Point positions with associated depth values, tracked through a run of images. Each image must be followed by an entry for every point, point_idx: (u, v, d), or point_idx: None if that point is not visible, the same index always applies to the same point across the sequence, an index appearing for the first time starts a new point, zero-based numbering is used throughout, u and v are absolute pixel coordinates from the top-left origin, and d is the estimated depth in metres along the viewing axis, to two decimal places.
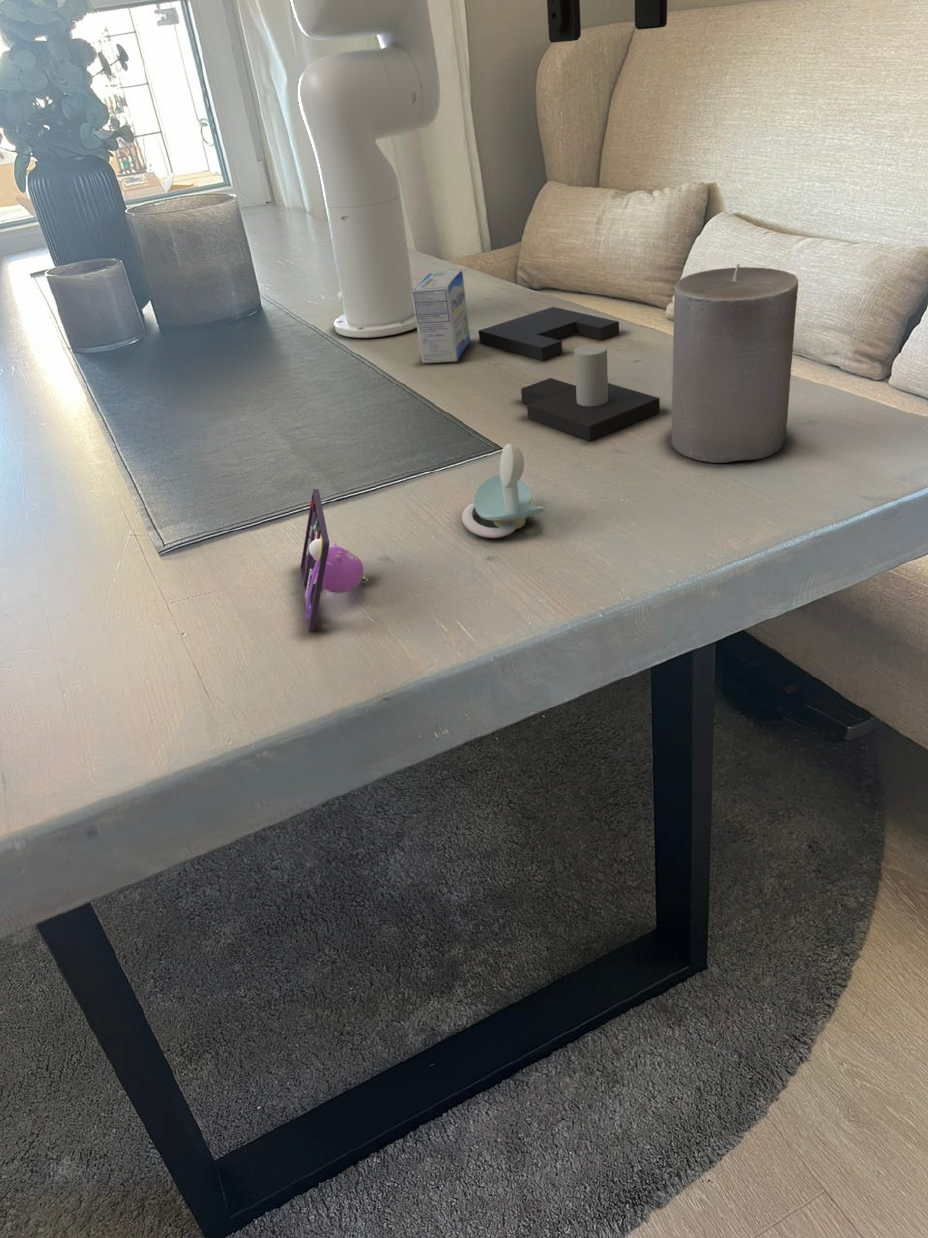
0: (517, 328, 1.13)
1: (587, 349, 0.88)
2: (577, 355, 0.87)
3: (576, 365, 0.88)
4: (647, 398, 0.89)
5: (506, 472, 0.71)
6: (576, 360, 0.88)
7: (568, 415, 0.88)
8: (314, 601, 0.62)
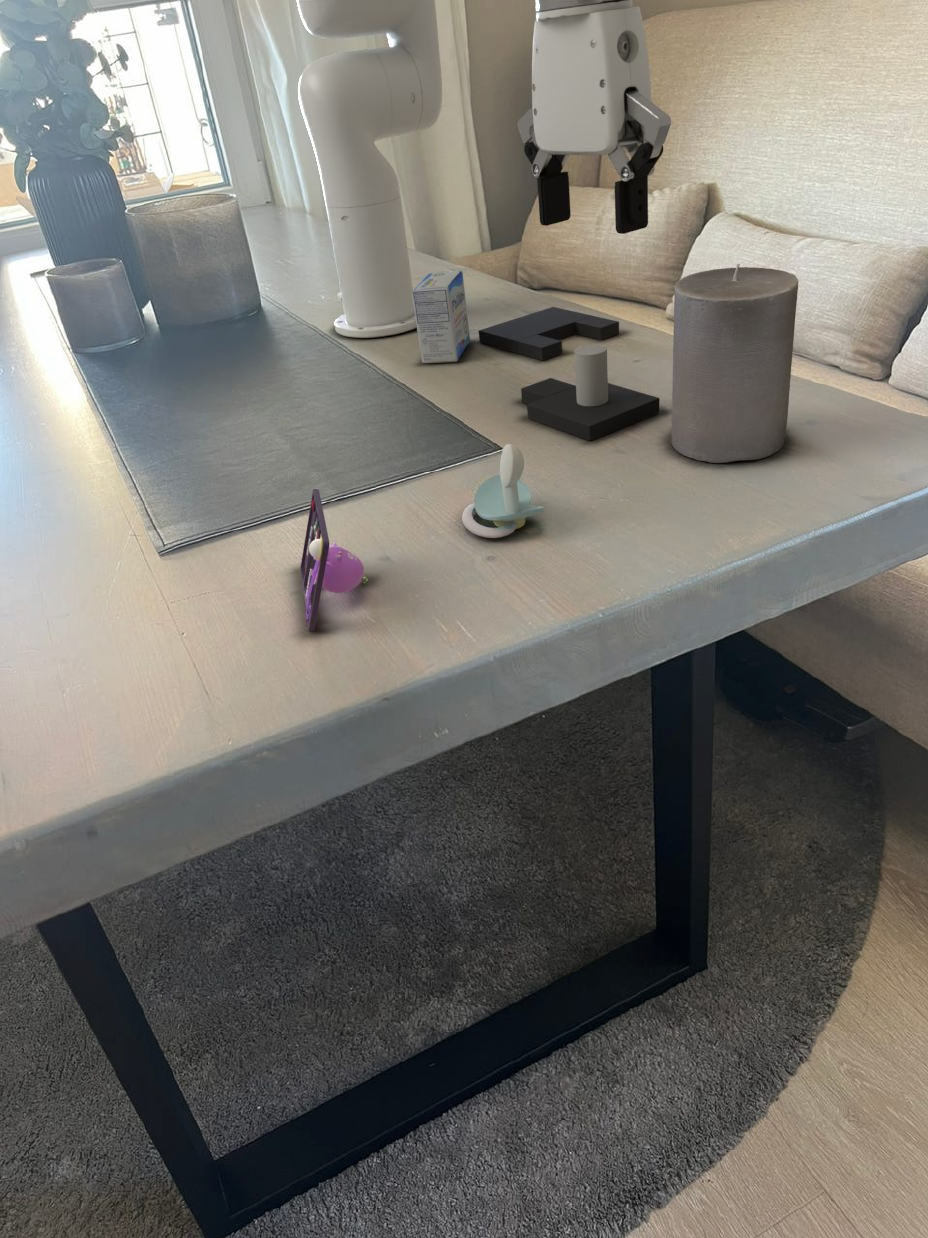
0: (517, 328, 1.13)
1: (587, 349, 0.88)
2: (577, 355, 0.87)
3: (576, 365, 0.88)
4: (647, 398, 0.89)
5: (506, 472, 0.71)
6: (576, 360, 0.88)
7: (568, 415, 0.88)
8: (314, 601, 0.62)
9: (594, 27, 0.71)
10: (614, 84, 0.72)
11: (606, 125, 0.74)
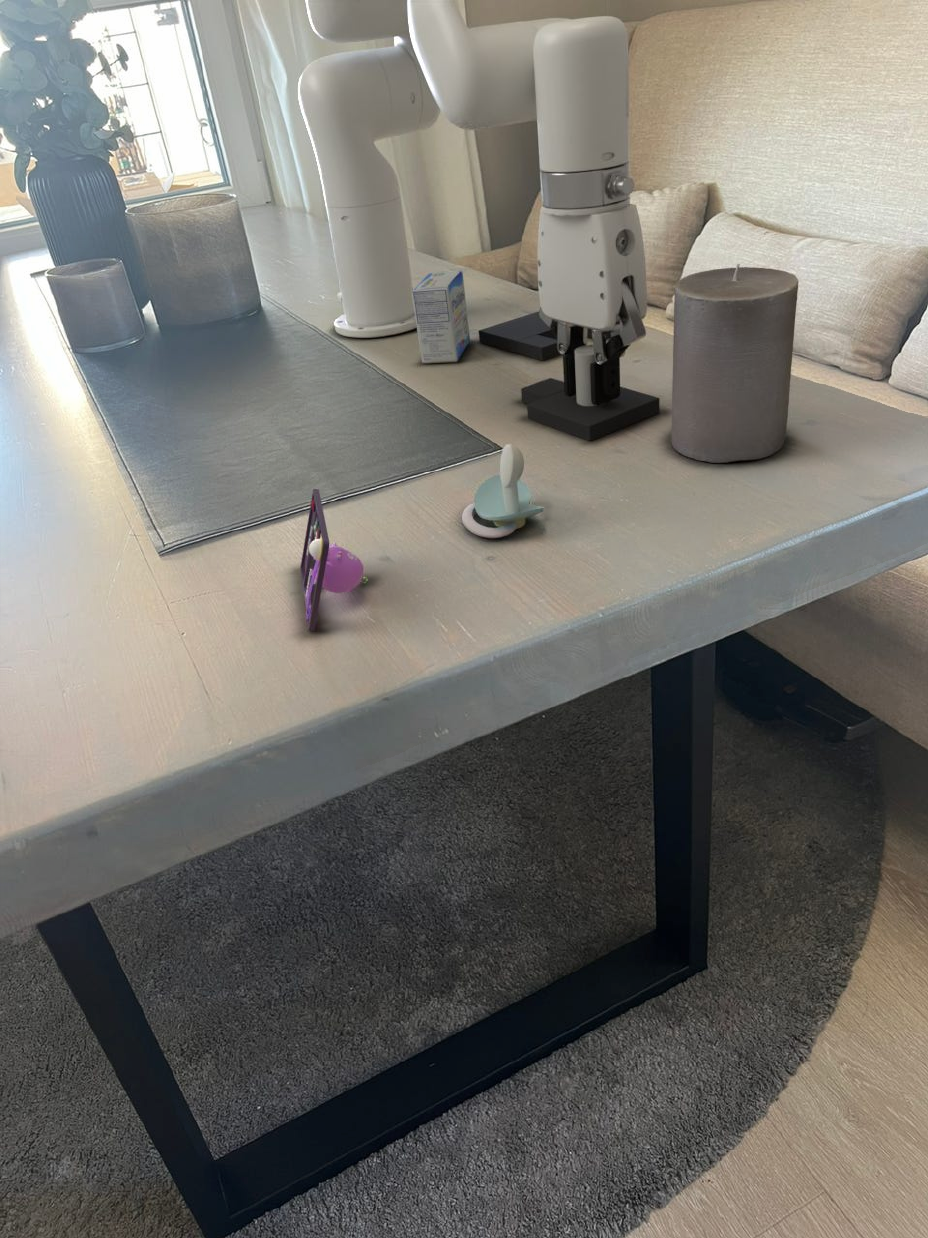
0: (517, 328, 1.13)
1: (587, 349, 0.88)
2: (577, 355, 0.87)
3: (576, 365, 0.88)
4: (647, 398, 0.89)
5: (506, 472, 0.71)
6: (576, 360, 0.88)
7: (568, 415, 0.88)
8: (314, 601, 0.62)
9: (595, 227, 0.78)
10: (612, 275, 0.79)
11: (605, 309, 0.81)
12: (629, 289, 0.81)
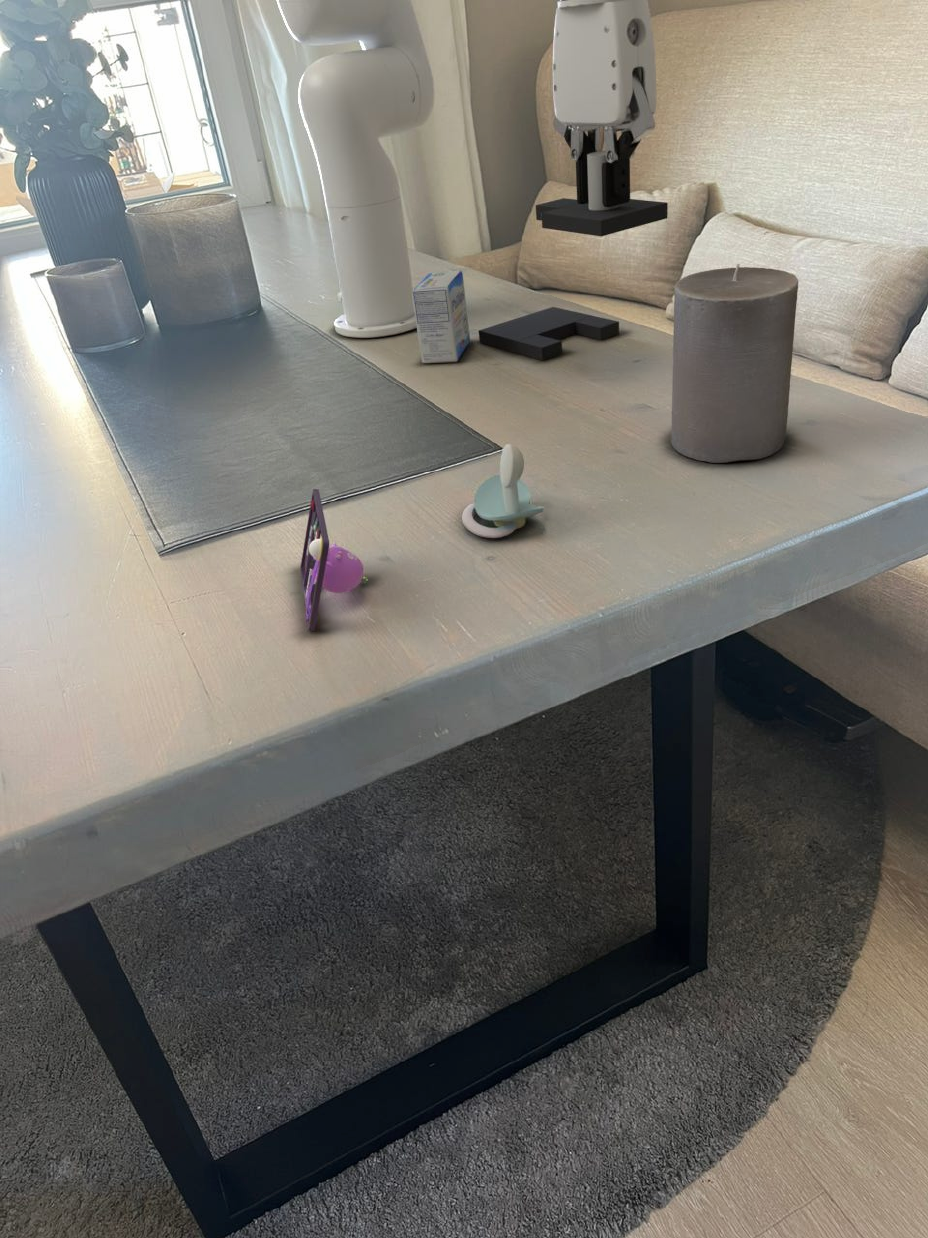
0: (517, 328, 1.13)
1: (599, 152, 0.92)
2: (589, 157, 0.92)
3: (588, 168, 0.93)
4: (656, 203, 0.94)
5: (506, 472, 0.71)
6: (588, 163, 0.92)
7: (581, 216, 0.92)
8: (314, 601, 0.62)
9: (607, 15, 0.83)
10: (624, 64, 0.84)
11: (616, 100, 0.86)
12: (639, 82, 0.86)
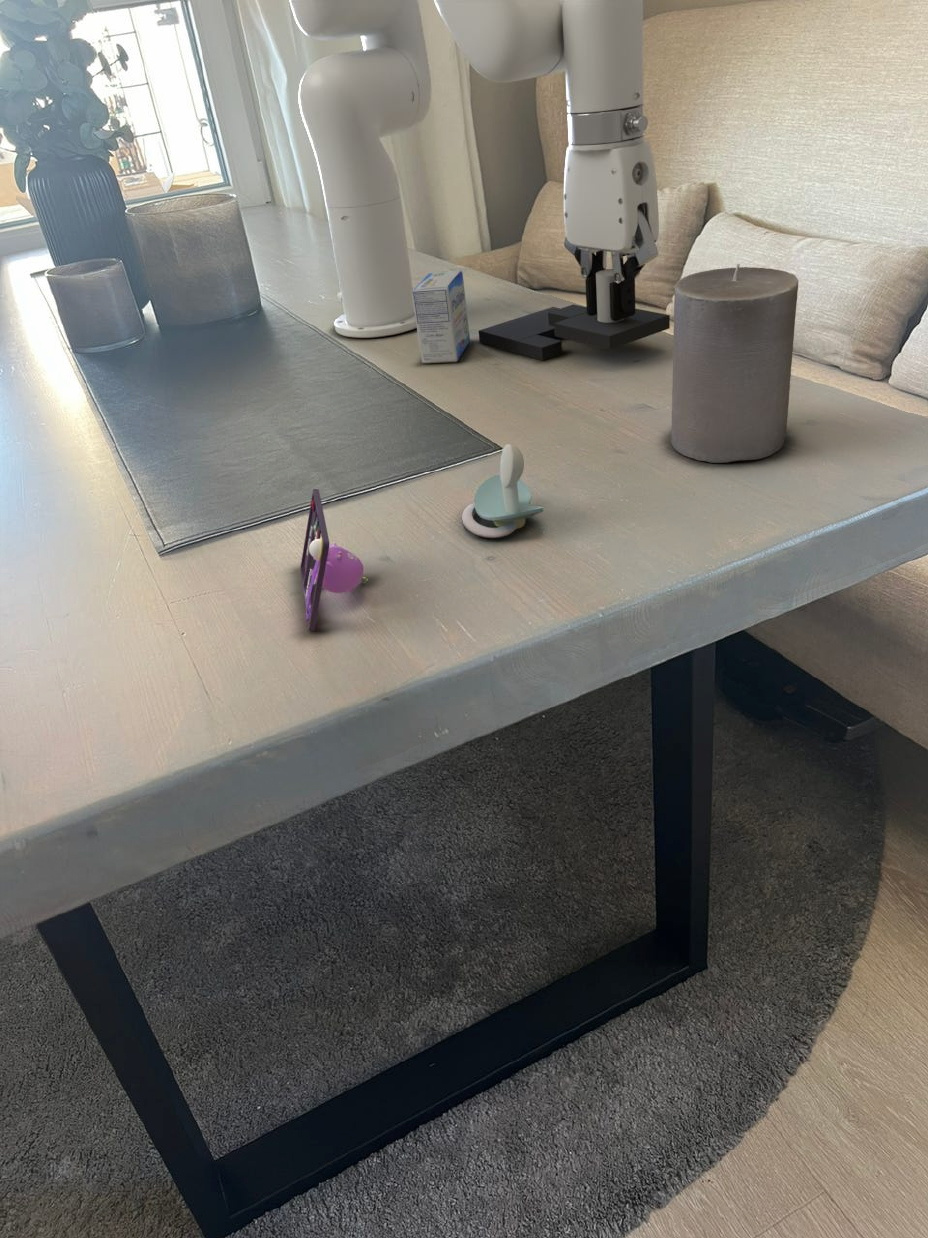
0: (517, 328, 1.13)
1: (607, 271, 1.01)
2: (598, 276, 1.01)
3: (597, 286, 1.01)
4: (659, 315, 1.03)
5: (506, 472, 0.71)
6: (597, 281, 1.01)
7: (591, 329, 1.01)
8: (314, 601, 0.62)
9: (614, 159, 0.92)
10: (629, 202, 0.93)
11: (623, 232, 0.94)
12: (643, 215, 0.95)
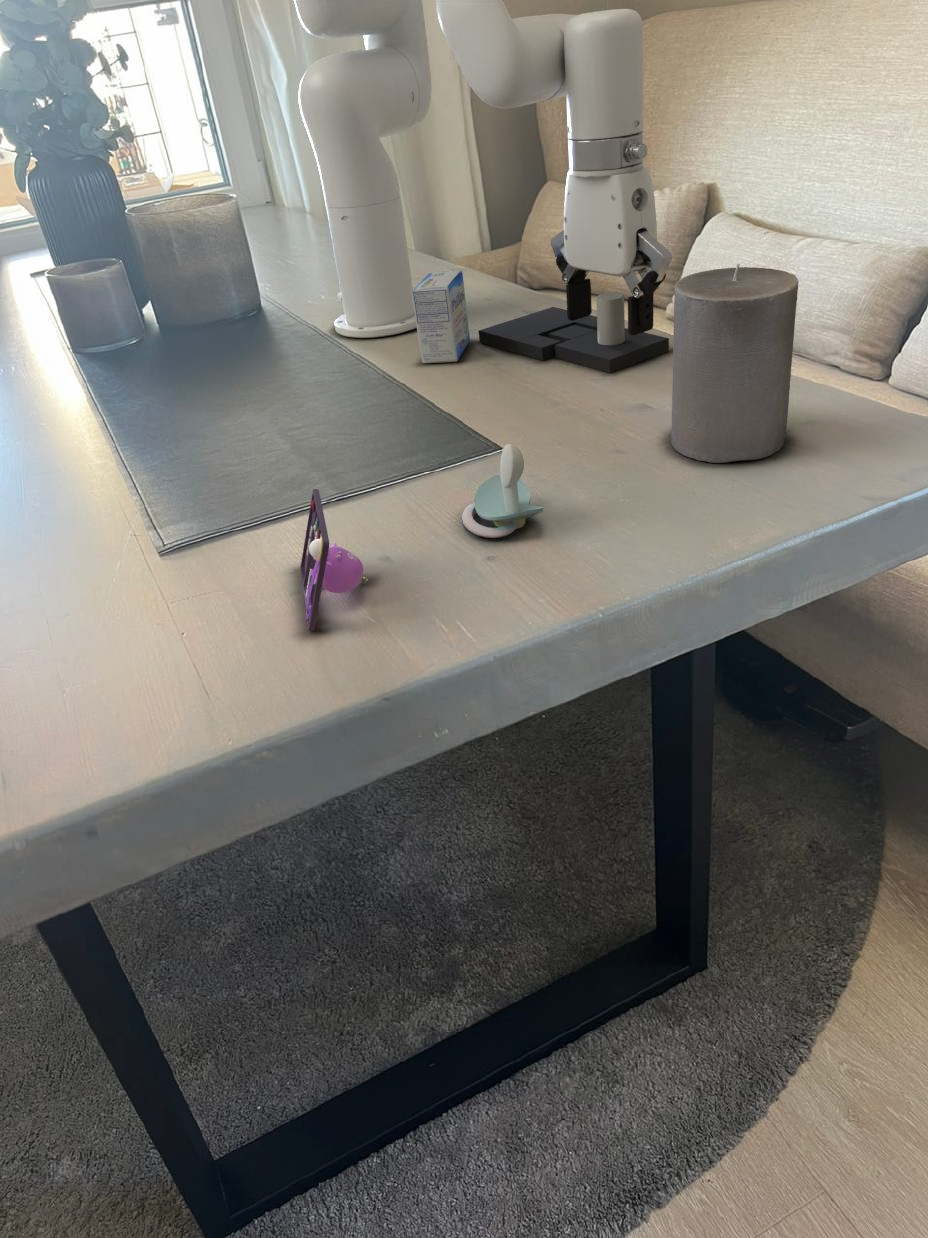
0: (517, 328, 1.13)
1: (607, 295, 1.03)
2: (598, 300, 1.02)
3: (598, 309, 1.03)
4: (658, 338, 1.04)
5: (506, 472, 0.71)
6: (598, 305, 1.03)
7: (591, 352, 1.03)
8: (314, 601, 0.62)
9: (614, 186, 0.93)
10: (629, 227, 0.94)
11: (622, 256, 0.96)
12: None
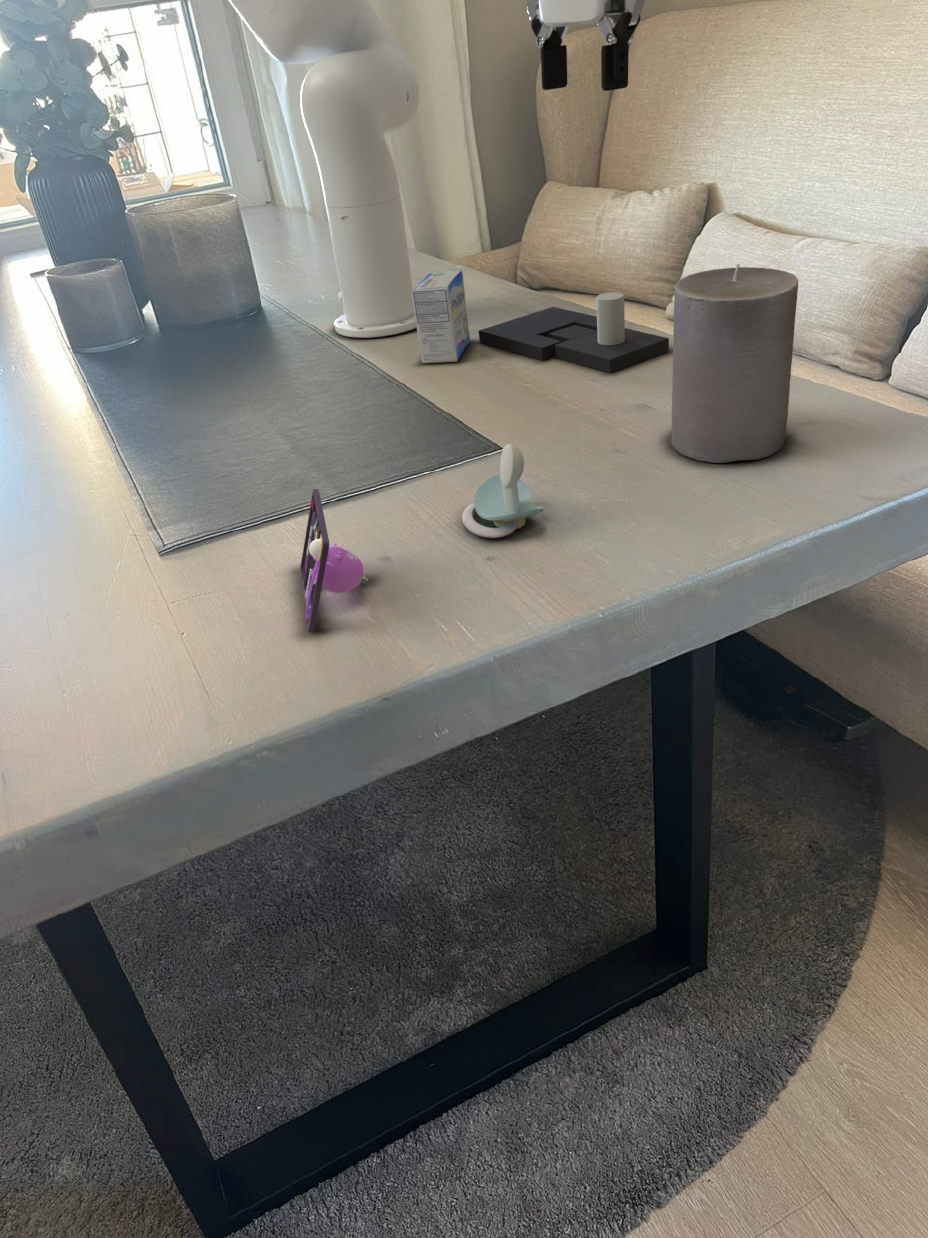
0: (517, 328, 1.13)
1: (607, 295, 1.03)
2: (598, 300, 1.02)
3: (598, 309, 1.03)
4: (658, 338, 1.04)
5: (506, 472, 0.71)
6: (598, 305, 1.03)
7: (591, 352, 1.03)
8: (314, 601, 0.62)
9: None
10: None
11: None
12: None
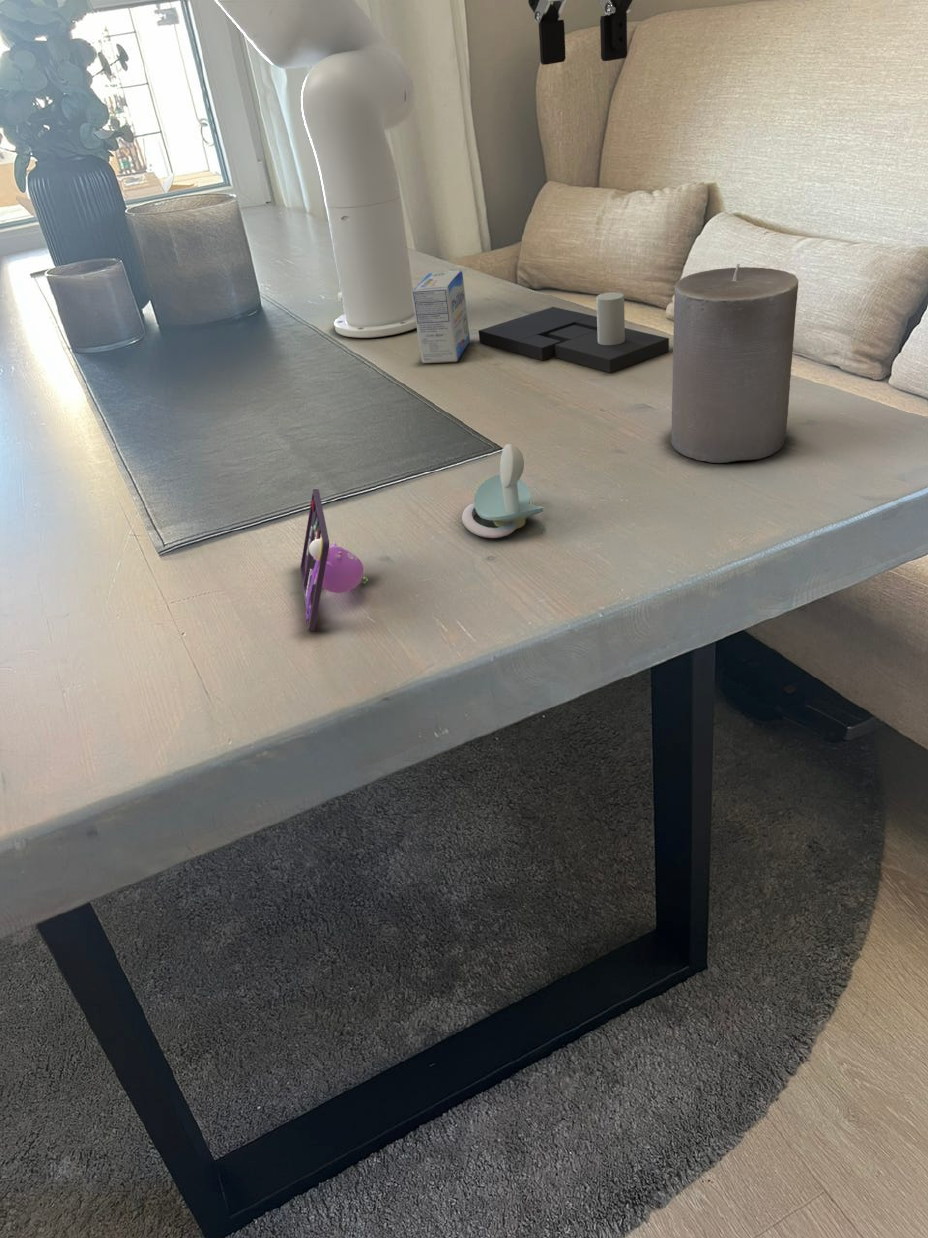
0: (517, 328, 1.13)
1: (607, 295, 1.03)
2: (598, 300, 1.02)
3: (598, 309, 1.03)
4: (658, 338, 1.04)
5: (506, 472, 0.71)
6: (598, 305, 1.03)
7: (591, 352, 1.03)
8: (314, 601, 0.62)
9: None
10: None
11: None
12: None
